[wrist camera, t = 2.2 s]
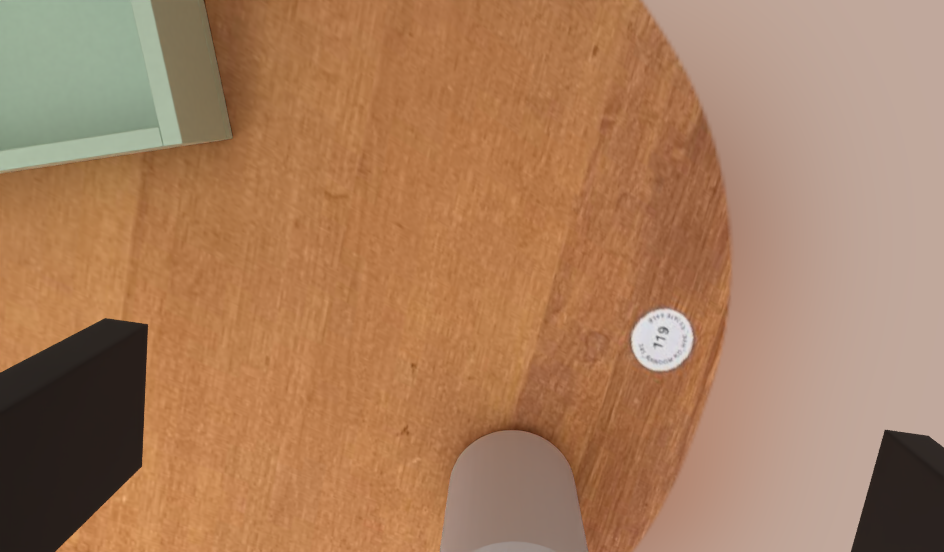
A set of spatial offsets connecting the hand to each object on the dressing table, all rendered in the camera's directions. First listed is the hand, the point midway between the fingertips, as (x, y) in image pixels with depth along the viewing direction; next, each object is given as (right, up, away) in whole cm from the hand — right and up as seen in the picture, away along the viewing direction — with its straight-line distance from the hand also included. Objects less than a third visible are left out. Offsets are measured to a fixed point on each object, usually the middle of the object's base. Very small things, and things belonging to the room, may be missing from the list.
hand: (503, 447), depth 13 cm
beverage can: (+1, -8, +26) cm, 27 cm away
